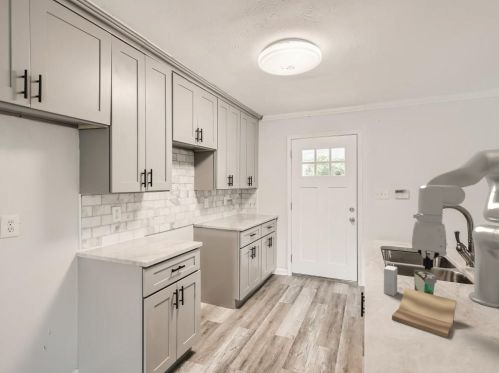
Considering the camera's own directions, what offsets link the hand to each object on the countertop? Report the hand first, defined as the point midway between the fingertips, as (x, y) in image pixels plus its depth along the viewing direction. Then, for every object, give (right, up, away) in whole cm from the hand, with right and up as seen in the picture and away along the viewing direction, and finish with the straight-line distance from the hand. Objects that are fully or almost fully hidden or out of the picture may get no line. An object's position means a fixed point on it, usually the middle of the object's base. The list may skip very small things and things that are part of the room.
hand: (428, 269), depth 100 cm
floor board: (-3, -18, -3) cm, 18 cm away
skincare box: (-4, -17, +19) cm, 26 cm away
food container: (+10, -17, +16) cm, 26 cm away
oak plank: (-1, -14, -1) cm, 14 cm away
